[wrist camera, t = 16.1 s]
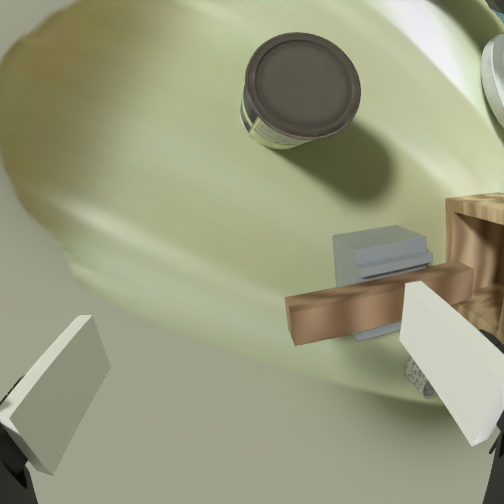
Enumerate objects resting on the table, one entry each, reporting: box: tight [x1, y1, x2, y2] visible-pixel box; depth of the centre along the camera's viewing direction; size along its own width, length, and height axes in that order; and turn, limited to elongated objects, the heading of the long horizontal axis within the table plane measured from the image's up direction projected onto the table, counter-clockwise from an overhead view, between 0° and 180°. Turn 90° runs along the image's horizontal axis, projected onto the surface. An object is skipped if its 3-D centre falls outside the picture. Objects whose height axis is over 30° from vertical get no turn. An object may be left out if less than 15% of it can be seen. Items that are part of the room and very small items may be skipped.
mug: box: [405, 357, 438, 399], centre depth 46 cm, size 10×7×7 cm, turn 111°
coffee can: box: [239, 32, 361, 149], centre depth 30 cm, size 10×10×14 cm
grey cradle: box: [333, 225, 433, 341], centre depth 39 cm, size 10×12×10 cm
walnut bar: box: [285, 260, 474, 346], centre depth 34 cm, size 24×4×4 cm, turn 98°
